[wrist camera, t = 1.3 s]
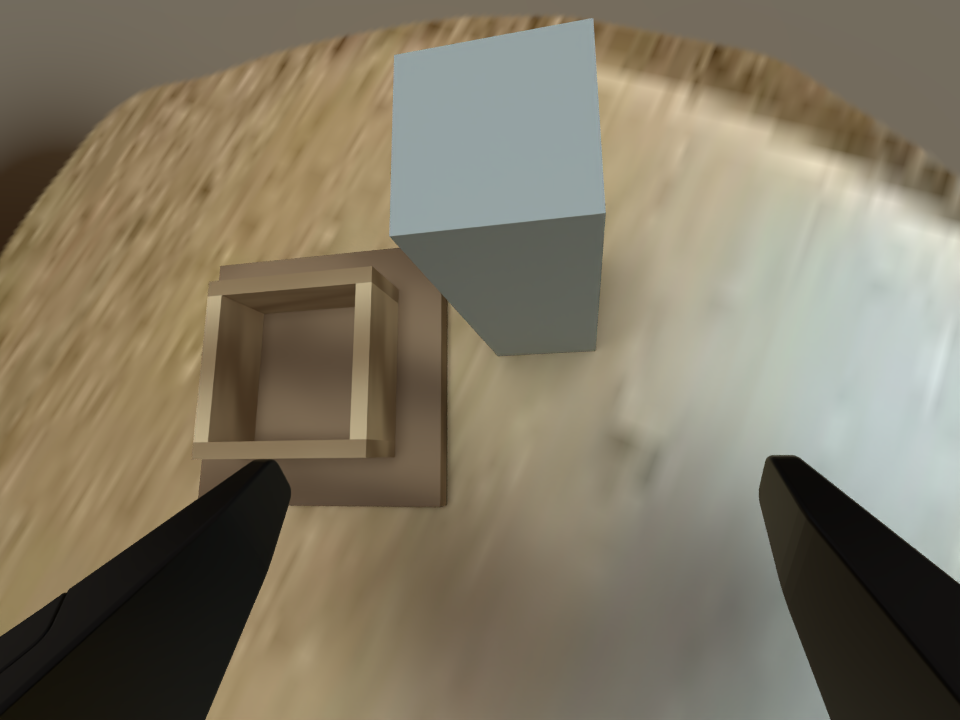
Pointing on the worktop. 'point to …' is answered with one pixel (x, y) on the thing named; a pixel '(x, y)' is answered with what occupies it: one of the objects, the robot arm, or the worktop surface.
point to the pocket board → (327, 379)
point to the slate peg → (504, 183)
